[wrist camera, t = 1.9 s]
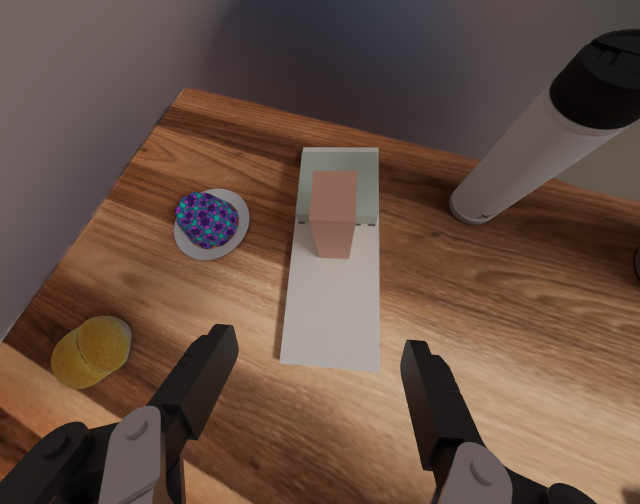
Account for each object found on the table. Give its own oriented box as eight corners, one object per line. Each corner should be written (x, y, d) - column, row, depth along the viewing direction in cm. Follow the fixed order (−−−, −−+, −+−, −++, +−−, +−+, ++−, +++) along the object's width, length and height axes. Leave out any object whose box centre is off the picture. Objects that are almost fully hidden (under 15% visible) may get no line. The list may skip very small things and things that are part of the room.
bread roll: (144, 352, 31) (117, 357, 27) (83, 395, 30) (45, 407, 26) (123, 302, 33) (95, 300, 29) (66, 341, 32) (29, 343, 28)
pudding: (183, 193, 38) (159, 174, 33) (253, 188, 37) (239, 167, 32) (171, 263, 34) (143, 253, 29) (248, 259, 33) (233, 248, 28)
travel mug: (481, 235, 32) (702, 103, 12) (439, 209, 33) (577, 56, 14) (504, 203, 33) (737, 38, 14) (462, 179, 34) (618, 1, 15)
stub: (322, 224, 32) (313, 170, 21) (350, 225, 32) (357, 171, 21) (319, 257, 31) (308, 220, 19) (349, 259, 31) (355, 221, 19)
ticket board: (304, 152, 38) (300, 135, 34) (377, 152, 37) (381, 135, 33) (281, 361, 29) (273, 367, 25) (377, 370, 28) (383, 377, 24)
